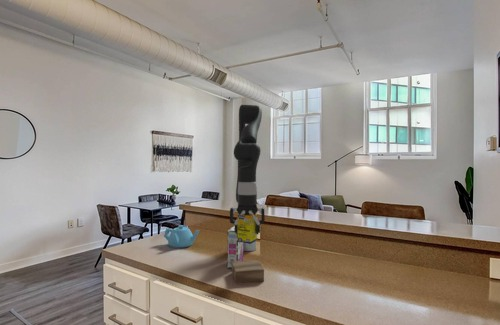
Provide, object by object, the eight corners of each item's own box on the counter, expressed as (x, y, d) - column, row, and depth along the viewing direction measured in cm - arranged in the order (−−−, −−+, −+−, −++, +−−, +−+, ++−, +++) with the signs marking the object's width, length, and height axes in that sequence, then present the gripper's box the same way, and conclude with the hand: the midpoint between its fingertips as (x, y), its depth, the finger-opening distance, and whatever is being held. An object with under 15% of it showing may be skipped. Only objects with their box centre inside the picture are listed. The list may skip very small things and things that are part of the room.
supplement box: (237, 242, 116) (237, 214, 116) (244, 238, 121) (244, 212, 121) (250, 244, 113) (250, 216, 113) (257, 240, 118) (257, 213, 118)
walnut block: (231, 273, 121) (231, 261, 121) (257, 271, 123) (257, 260, 123) (235, 284, 111) (235, 271, 110) (263, 282, 113) (263, 269, 113)
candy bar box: (238, 269, 125) (238, 231, 125) (226, 268, 126) (226, 230, 126) (243, 260, 136) (243, 225, 136) (233, 259, 137) (233, 225, 137)
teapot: (188, 239, 173) (188, 221, 173) (200, 245, 161) (200, 225, 161) (163, 244, 163) (162, 225, 163) (173, 250, 151) (173, 230, 151)
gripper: (265, 192, 120) (265, 231, 120) (230, 192, 121) (230, 231, 121) (265, 194, 113) (265, 236, 113) (228, 194, 113) (228, 236, 114)
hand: (247, 233), depth 117 cm, fingers closed on supplement box, 7 cm apart
